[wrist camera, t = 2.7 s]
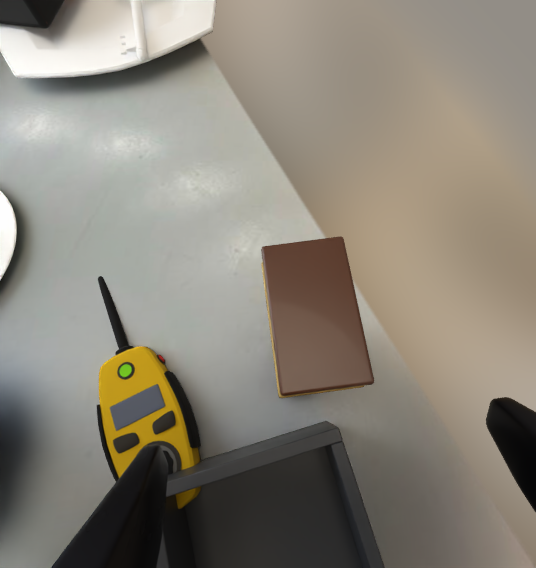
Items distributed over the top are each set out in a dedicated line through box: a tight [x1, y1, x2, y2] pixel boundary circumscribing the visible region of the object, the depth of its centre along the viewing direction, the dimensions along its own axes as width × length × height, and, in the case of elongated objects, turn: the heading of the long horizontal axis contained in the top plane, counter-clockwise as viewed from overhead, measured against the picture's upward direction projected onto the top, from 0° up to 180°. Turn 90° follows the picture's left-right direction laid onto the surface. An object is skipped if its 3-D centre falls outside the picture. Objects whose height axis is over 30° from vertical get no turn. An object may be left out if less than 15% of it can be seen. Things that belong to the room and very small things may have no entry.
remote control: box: [97, 276, 201, 509], centre depth 20 cm, size 5×2×15 cm
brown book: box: [261, 237, 374, 398], centre depth 12 cm, size 4×2×7 cm, turn 7°
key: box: [120, 0, 148, 61], centre depth 27 cm, size 12×1×4 cm
